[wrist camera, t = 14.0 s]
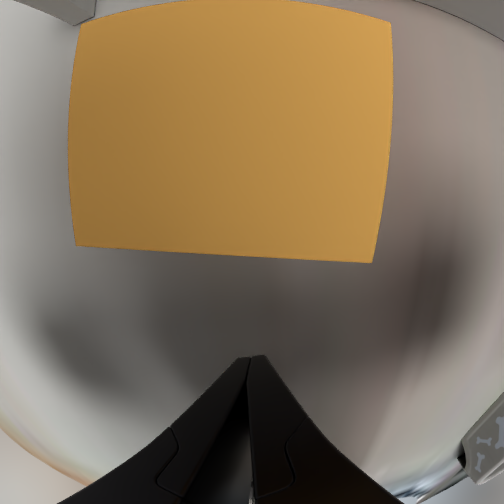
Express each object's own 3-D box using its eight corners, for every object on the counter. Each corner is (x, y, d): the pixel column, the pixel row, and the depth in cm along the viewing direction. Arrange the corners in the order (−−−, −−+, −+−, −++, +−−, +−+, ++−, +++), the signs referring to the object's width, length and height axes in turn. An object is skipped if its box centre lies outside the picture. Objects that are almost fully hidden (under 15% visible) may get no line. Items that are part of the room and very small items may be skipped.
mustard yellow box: (324, 210, 7) (371, 263, 4) (145, 202, 7) (76, 246, 4) (334, 69, 6) (390, 23, 3) (149, 64, 6) (81, 24, 3)
